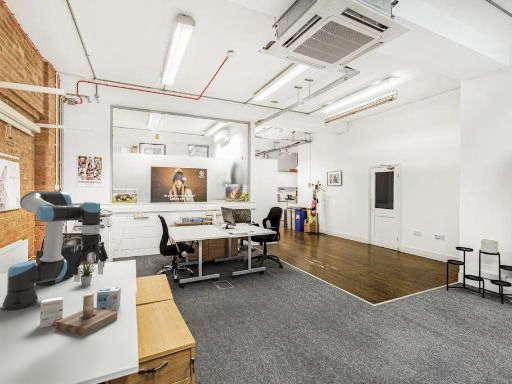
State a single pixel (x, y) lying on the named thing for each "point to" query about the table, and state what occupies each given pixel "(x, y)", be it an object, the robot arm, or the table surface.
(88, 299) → the peg
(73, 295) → the table surface
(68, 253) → the headset box
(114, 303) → the light bulb box
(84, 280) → the house plant
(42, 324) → the ink box
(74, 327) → the board
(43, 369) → the table surface
